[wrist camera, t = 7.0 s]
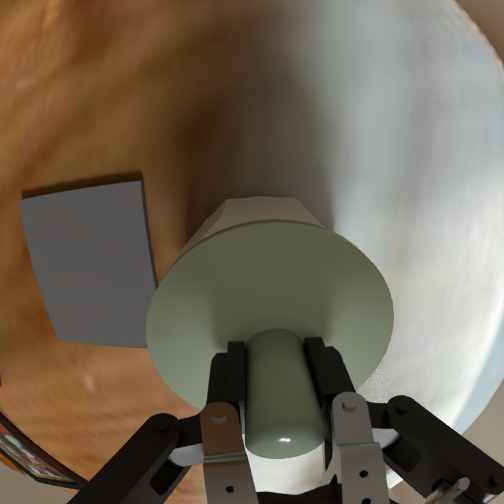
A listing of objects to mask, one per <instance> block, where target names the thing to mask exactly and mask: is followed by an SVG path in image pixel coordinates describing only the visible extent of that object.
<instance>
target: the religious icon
mask: <svg viewBox="0 0 504 504" xmlns="http://www.w3.org/2000/svg"><path fill="white" fill-rule="evenodd" d="M0 453H1V454H3V455H4V456H5V457H6V458H7V459H9V460H10V461H11V462H12V463H13V464H15V465H16V466H17V467H18V468H20V469H21V470H22V471H24V472H25V473H26V474H28V475H29V476H31V477H32V478H33V479H35V480H36V481H37V482H41V483H45V484H49V485H54V486H59V487H64V488H71V489H78V490H81V489H82V488H83V487H84V486H85V485H86V484H87V483H88V481H86V480H85V479H83V478H82V477H80V476H78V475H77V474H75V473H74V472H72V471H71V470H69V469H68V468H66V467H65V466H64V465H62V464H61V463H59V462H58V461H56V460H55V459H54V458H52V457H51V456H50V455H48V454H47V453H46V452H44V451H43V450H42V449H41V448H39V447H38V446H37V445H36V444H34V443H33V442H32V441H31V440H30V439H28V438H27V437H26V436H25V435H24V434H23V433H21V432H20V431H19V430H18V429H17V428H16V427H15V426H14V425H13V424H12V423H10V422H9V421H8V420H7V419H6V418H5V417H4V416H3V415H2V414H1V413H0Z"/></svg>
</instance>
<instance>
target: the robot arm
mask: <svg viewBox="0 0 504 504" xmlns="http://www.w3.org/2000/svg"><path fill="white" fill-rule="evenodd" d="M304 349H305V353H306V357H307V360H308V364H309V368H310V371H311V375H312V379H313V382H314V386H315V390H316V394H317V398H318V401H319V405H320V409H321V413H322V417H323V420H324V424H325V428H326V433H327V435H326V438H325V440H324V441H323V443H322V448H323V478H322V484H321V487H318V488H316V489H313V490H310V491H307V492H305V493H302V494H298V495H291V494H282V493H274V492H256V490H255V486H254V482H253V477H252V473H251V469H250V465H249V461H248V457H247V454H246V452H245V447H244V443H243V438H242V434H245V414H246V401H245V348H244V341H228V349H227V352H225V353H216V354H215V356H214V357H213V358H212V360H211V366H210V375H209V383H208V392H207V401H206V405H205V407H204V408H203V409H202V411H201V412H200V413H198V414H197V415H195V416H192V417H188V418H184V419H179V420H178V419H177V418H176V417H175V416H173V415H171V414H167V413H160V414H156V415H153V416H151V417H150V418H149V419H148V420H147V421H146V422H145V423H144V424H143V425H142V426H141V427H140V428H139V429H138V431H137V432H136V433H135V434H134V435H133V436H132V437H131V438H130V439H129V440H128V441H127V442H126V443H125V444H124V446H123V447H122V448H121V449H120V450H119V451H118V452H117V453H116V454H115V455H114V456H113V457H112V458H111V459H110V460H109V461H108V462H107V463H106V464H105V465H104V467H103V468H102V469H101V470H100V471H99V472H98V473H97V474H96V475H95V476H94V477H93V478H92V479H91V480H90V481H89V482H88V483H87V484H86V485H85V486H84V487H83V488H82V489H81V490H80V491H79V492H78V493H77V494H76V495H75V496H74V497H73V498H72V499H71V500H70V501H69V502H68V503H67V504H163V503H164V502H165V501H166V500H167V498H168V497H169V496H170V494H171V493H172V492H173V490H174V489H175V488H176V487H177V485H178V484H179V483H180V481H181V480H182V479H183V477H184V476H185V474H186V473H187V472H188V470H189V469H190V468H191V466H192V465H194V464H199V463H203V470H204V479H205V487H206V495H207V502H208V504H399V503H397V502H395V501H394V500H392V499H390V498H389V494H388V487H387V480H386V473H385V467H384V462H385V463H386V464H387V465H388V466H389V467H390V468H391V469H392V470H393V471H394V472H396V473H397V474H398V475H399V476H400V477H401V478H402V479H403V480H404V481H406V482H407V483H408V484H409V485H410V486H411V487H412V488H414V489H415V490H416V491H417V492H418V493H419V494H421V495H422V496H423V497H424V498H425V499H426V500H425V504H487V503H489V502H490V501H491V500H493V499H494V498H495V497H497V496H498V495H499V494H501V493H502V492H503V491H504V467H503V466H502V465H501V464H499V463H498V462H496V461H495V460H494V459H492V458H491V457H490V456H488V455H487V454H486V453H484V452H483V451H481V450H480V449H479V448H477V447H476V446H475V445H473V444H472V443H471V442H469V441H468V440H467V439H465V438H464V437H462V436H461V435H460V434H458V433H457V432H456V431H454V430H453V429H452V428H450V427H449V426H448V425H446V424H445V423H444V422H443V421H441V420H440V419H439V418H437V417H436V416H435V415H433V414H432V413H431V412H429V411H428V410H427V409H425V408H424V407H423V406H421V405H420V404H419V403H417V402H416V401H415V400H414V399H412V398H410V397H408V396H404V395H398V396H395V397H393V398H391V399H390V400H389V401H388V403H372V402H368V401H366V400H365V398H364V397H363V396H361V395H360V394H358V393H356V391H355V388H354V386H353V383H352V381H351V378H350V376H349V373H348V371H347V369H346V366H345V364H344V362H343V359H342V356H341V354H340V352H339V351H338V350H337V349H335V348H334V347H333V346H327V347H325V345H324V342H323V339H322V337H321V336H319V337H307V338H305V339H304Z"/></svg>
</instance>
